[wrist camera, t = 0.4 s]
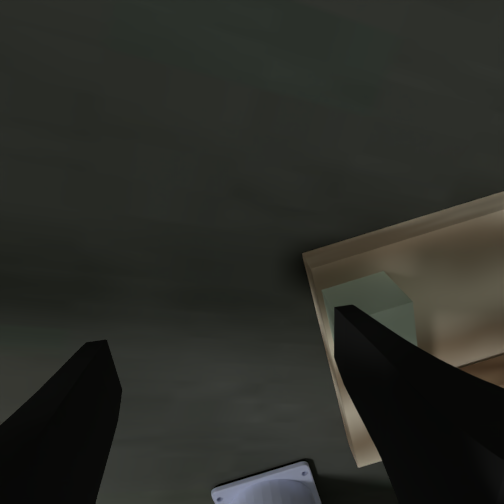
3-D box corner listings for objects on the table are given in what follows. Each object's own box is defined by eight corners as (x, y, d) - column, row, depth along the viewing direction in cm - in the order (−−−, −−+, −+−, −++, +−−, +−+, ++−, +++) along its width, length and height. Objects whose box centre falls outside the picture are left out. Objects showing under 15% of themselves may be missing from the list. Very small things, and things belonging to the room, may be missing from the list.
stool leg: (407, 412, 25) (423, 438, 24) (403, 383, 24) (420, 408, 22) (576, 361, 25) (605, 383, 23) (580, 329, 24) (611, 350, 22)
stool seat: (537, 386, 29) (559, 406, 28) (348, 444, 29) (358, 467, 28) (555, 175, 22) (587, 183, 20) (301, 253, 22) (310, 268, 20)
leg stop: (394, 351, 23) (421, 389, 20) (339, 368, 23) (358, 408, 20) (383, 270, 21) (412, 301, 18) (321, 289, 21) (340, 323, 18)
